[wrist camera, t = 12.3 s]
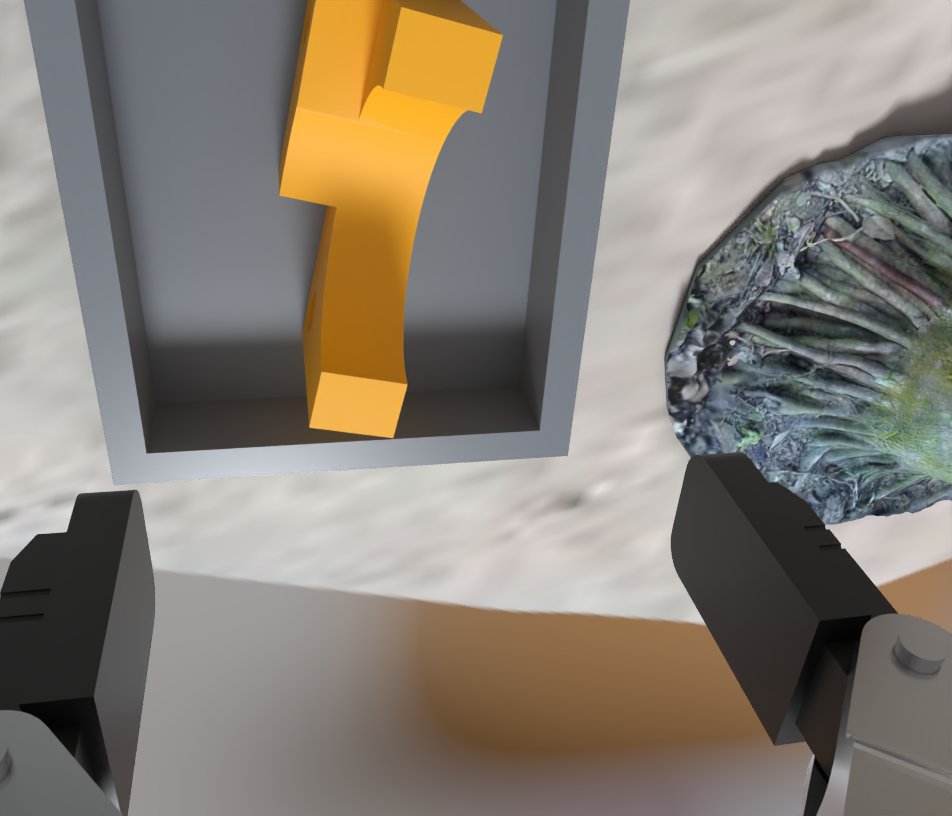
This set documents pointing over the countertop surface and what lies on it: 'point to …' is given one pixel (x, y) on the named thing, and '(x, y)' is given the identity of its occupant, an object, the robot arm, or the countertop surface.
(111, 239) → the tray
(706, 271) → the tree stump
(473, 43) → the pipe clamp
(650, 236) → the countertop surface
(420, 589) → the countertop surface
